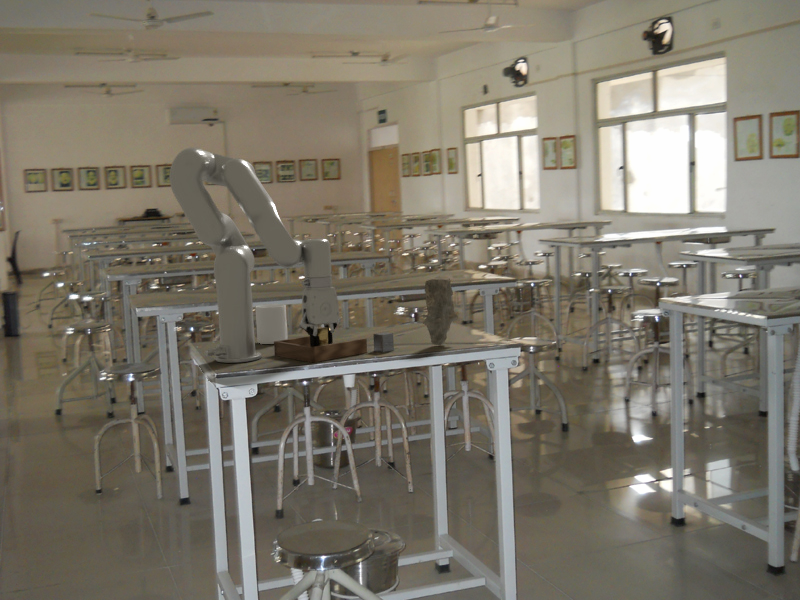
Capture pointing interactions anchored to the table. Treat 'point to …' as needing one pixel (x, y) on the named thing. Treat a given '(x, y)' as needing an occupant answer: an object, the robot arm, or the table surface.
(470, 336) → the table surface
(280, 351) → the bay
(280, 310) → the white box
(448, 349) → the table surface
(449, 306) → the stone tool
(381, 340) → the steel block
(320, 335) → the brass part
